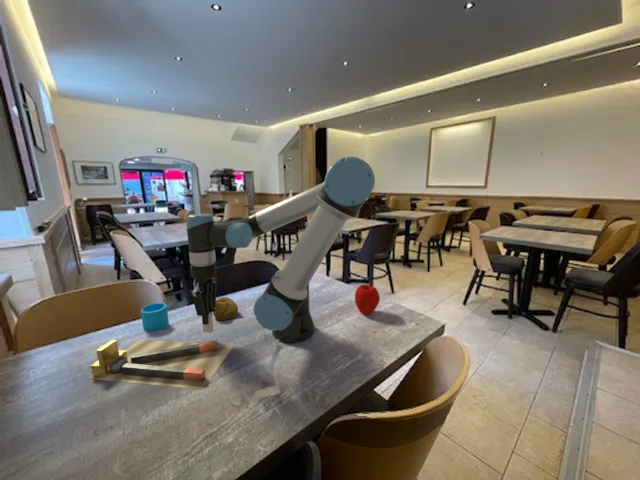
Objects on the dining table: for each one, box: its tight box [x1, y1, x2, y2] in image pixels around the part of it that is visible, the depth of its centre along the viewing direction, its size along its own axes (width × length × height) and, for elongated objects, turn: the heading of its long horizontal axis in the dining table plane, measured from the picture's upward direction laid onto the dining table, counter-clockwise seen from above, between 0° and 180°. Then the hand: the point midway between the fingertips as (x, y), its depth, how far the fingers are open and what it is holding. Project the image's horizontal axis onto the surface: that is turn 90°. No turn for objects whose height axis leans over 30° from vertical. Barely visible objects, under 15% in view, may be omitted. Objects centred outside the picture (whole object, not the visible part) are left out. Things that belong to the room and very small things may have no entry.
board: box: [86, 338, 235, 390], centre depth 81 cm, size 33×19×2 cm, turn 83°
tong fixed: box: [108, 357, 205, 382], centre depth 75 cm, size 28×4×2 cm, turn 83°
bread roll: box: [212, 296, 239, 321], centre depth 111 cm, size 13×10×8 cm
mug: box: [140, 302, 170, 332], centre depth 103 cm, size 12×8×8 cm
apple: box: [354, 284, 381, 316], centre depth 112 cm, size 10×10×12 cm
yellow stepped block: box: [90, 339, 127, 377], centre depth 77 cm, size 4×7×7 cm, turn 173°
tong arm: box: [131, 340, 218, 364], centre depth 82 cm, size 23×2×2 cm, turn 108°
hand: (208, 331), depth 91 cm, fingers closed
